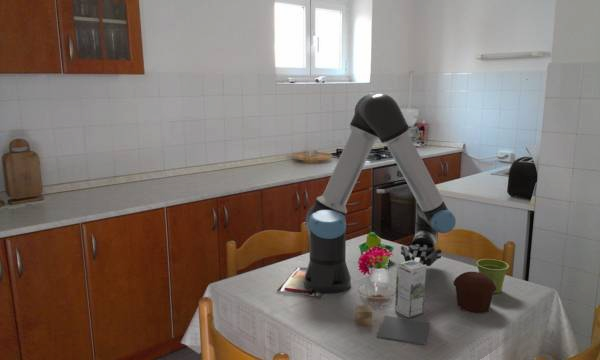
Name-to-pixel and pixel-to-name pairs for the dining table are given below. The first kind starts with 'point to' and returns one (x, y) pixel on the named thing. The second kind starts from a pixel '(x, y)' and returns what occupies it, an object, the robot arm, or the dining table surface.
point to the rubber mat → (403, 330)
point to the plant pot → (493, 271)
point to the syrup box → (410, 288)
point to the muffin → (474, 292)
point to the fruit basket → (373, 243)
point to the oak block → (363, 315)
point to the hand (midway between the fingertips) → (415, 269)
